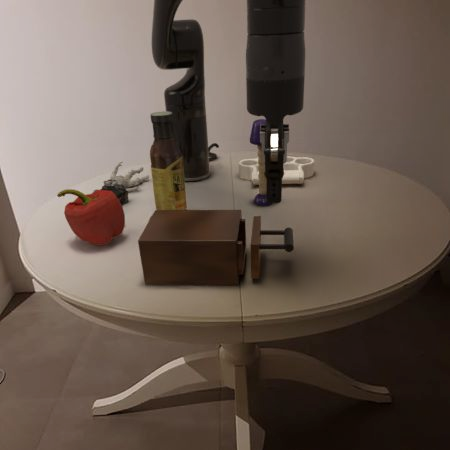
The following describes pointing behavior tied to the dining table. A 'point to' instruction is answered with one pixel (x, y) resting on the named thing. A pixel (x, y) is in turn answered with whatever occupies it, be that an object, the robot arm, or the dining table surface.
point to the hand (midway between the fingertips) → (273, 201)
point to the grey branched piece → (126, 179)
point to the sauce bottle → (166, 165)
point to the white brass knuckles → (293, 167)
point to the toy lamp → (259, 162)
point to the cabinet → (191, 247)
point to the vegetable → (95, 216)
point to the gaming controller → (117, 191)
